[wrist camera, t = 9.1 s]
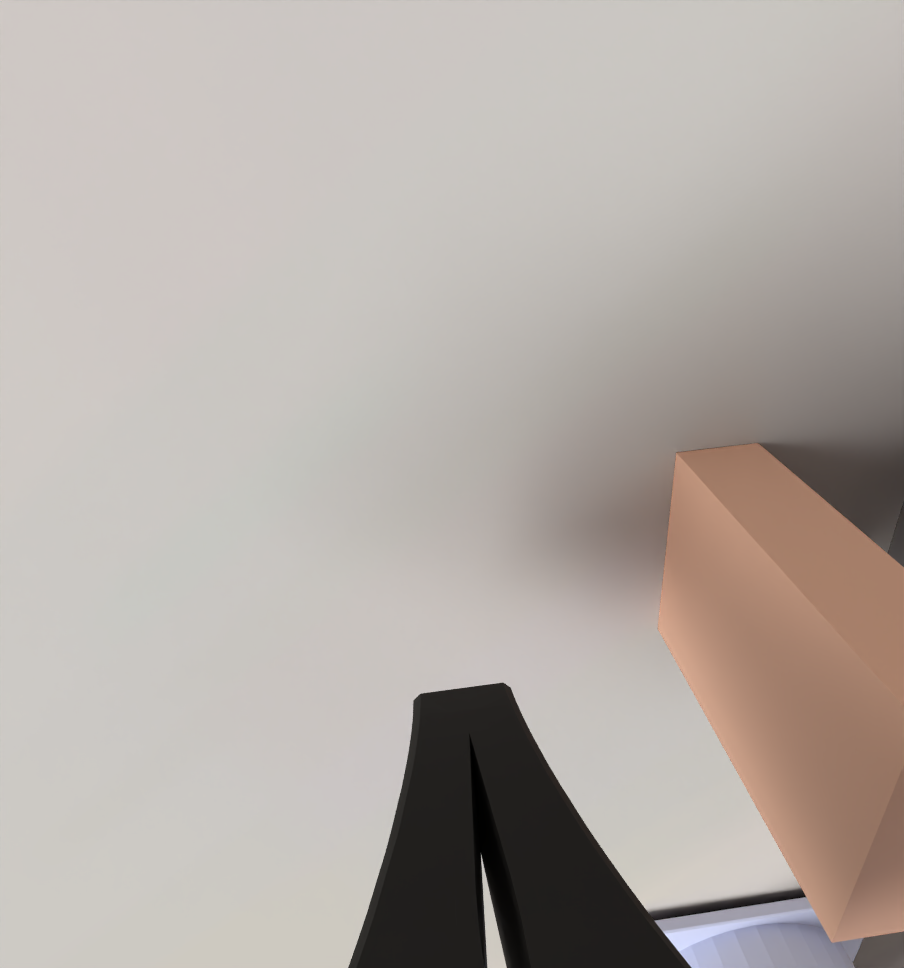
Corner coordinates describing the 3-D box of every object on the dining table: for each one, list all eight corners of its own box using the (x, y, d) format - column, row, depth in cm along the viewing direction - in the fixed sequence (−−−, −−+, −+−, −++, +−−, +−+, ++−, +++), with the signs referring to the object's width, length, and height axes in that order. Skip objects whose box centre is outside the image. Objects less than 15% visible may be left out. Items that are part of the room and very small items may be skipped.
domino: (757, 443, 13) (1064, 703, 7) (727, 619, 15) (942, 924, 9) (676, 452, 12) (920, 724, 7) (657, 628, 15) (832, 943, 9)
